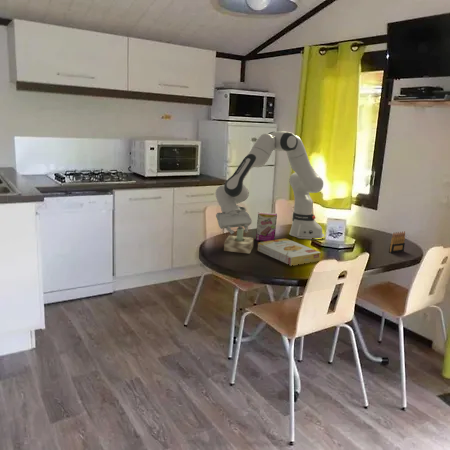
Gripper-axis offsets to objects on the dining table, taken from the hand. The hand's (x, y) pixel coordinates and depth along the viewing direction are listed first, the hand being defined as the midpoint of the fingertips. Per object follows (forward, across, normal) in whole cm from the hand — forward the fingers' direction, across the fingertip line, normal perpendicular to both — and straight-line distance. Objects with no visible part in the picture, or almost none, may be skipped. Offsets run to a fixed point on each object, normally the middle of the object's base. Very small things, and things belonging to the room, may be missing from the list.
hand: (239, 233), depth 241 cm
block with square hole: (+6, 0, +6) cm, 9 cm away
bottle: (+6, 0, +6) cm, 9 cm away
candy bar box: (+1, +25, +12) cm, 27 cm away
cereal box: (+22, +17, -8) cm, 29 cm away
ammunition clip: (+36, +82, -23) cm, 92 cm away
